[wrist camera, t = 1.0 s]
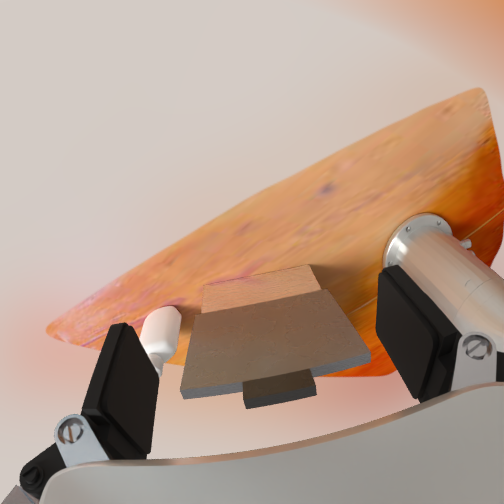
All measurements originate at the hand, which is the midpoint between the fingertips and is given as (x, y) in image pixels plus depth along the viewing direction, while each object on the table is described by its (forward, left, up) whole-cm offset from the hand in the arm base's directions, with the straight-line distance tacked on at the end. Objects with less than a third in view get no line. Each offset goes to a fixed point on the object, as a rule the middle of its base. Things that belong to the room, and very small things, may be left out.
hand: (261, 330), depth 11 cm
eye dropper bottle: (+14, +18, -27) cm, 35 cm away
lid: (0, +12, -12) cm, 17 cm away
